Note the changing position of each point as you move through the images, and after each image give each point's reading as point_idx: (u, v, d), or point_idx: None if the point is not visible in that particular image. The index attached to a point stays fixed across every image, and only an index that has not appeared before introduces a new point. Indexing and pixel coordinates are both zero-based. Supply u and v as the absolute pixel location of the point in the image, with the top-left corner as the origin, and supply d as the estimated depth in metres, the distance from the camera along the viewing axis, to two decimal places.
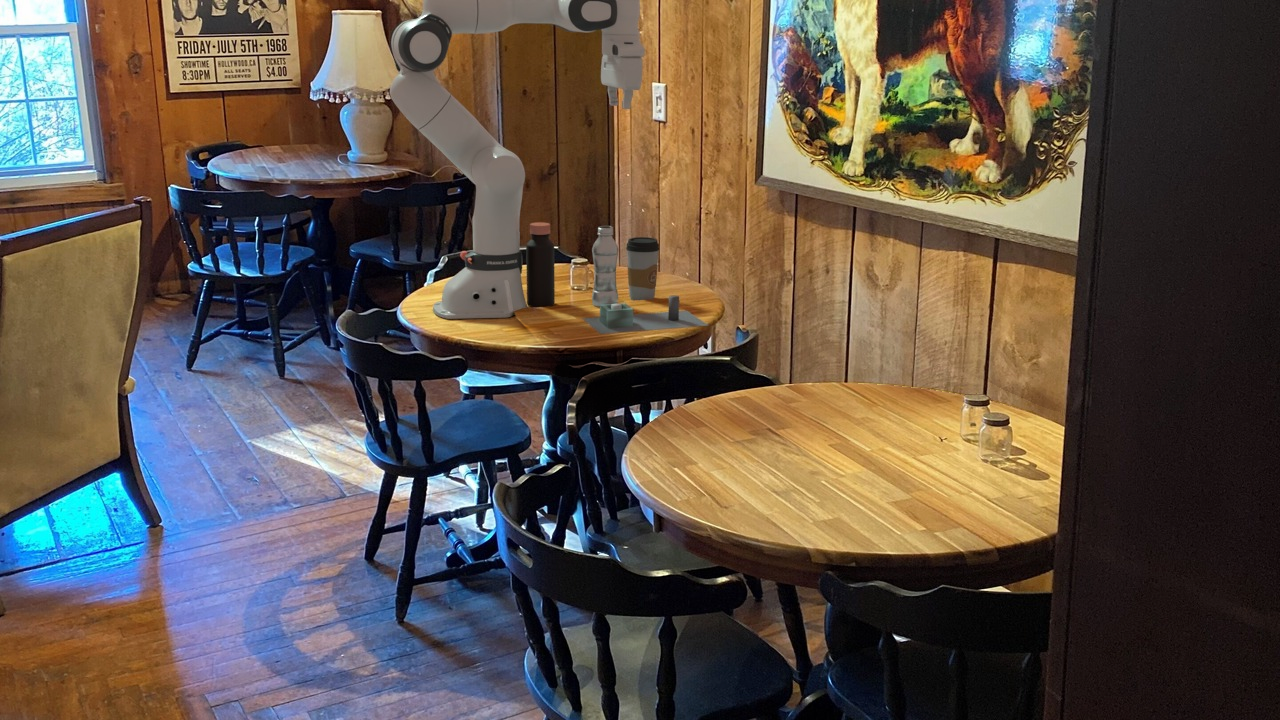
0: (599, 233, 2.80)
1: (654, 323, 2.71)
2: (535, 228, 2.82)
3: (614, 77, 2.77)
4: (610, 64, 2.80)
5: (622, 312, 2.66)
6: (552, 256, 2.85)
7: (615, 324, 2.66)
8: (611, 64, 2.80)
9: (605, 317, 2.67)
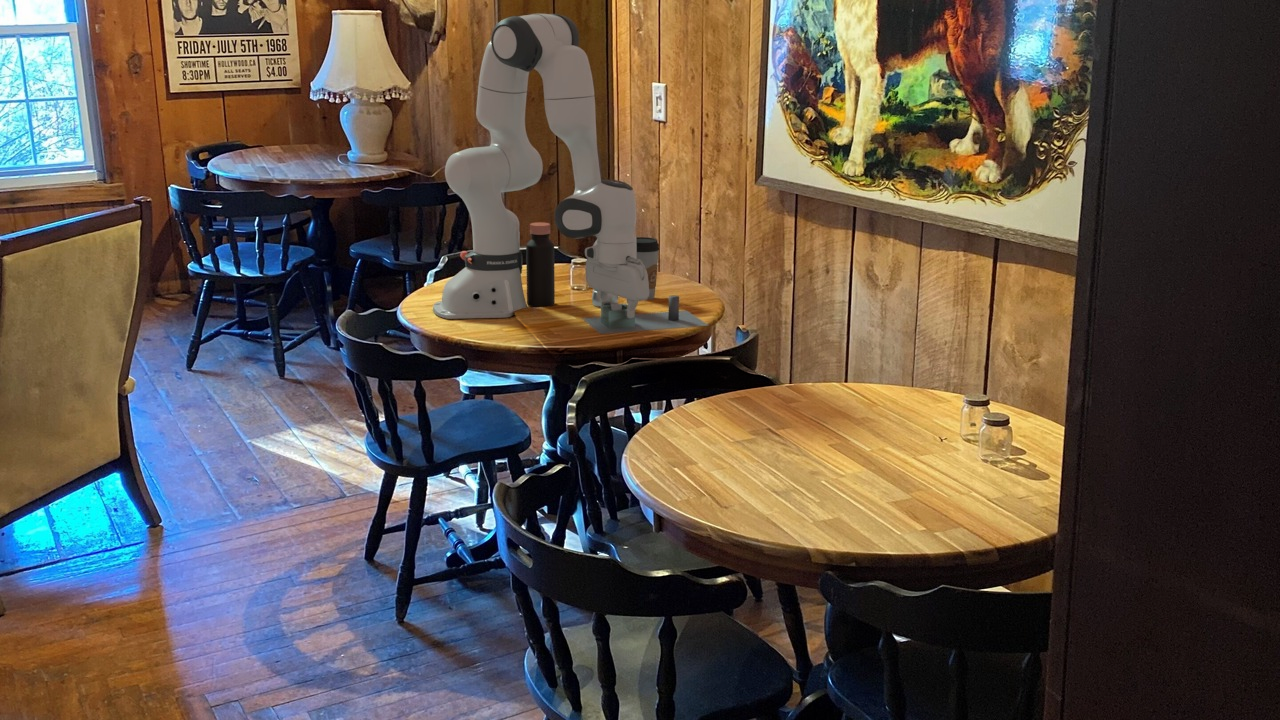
0: None
1: (654, 323, 2.71)
2: (535, 228, 2.82)
3: None
4: None
5: None
6: (552, 256, 2.85)
7: (617, 325, 2.66)
8: None
9: (607, 318, 2.66)
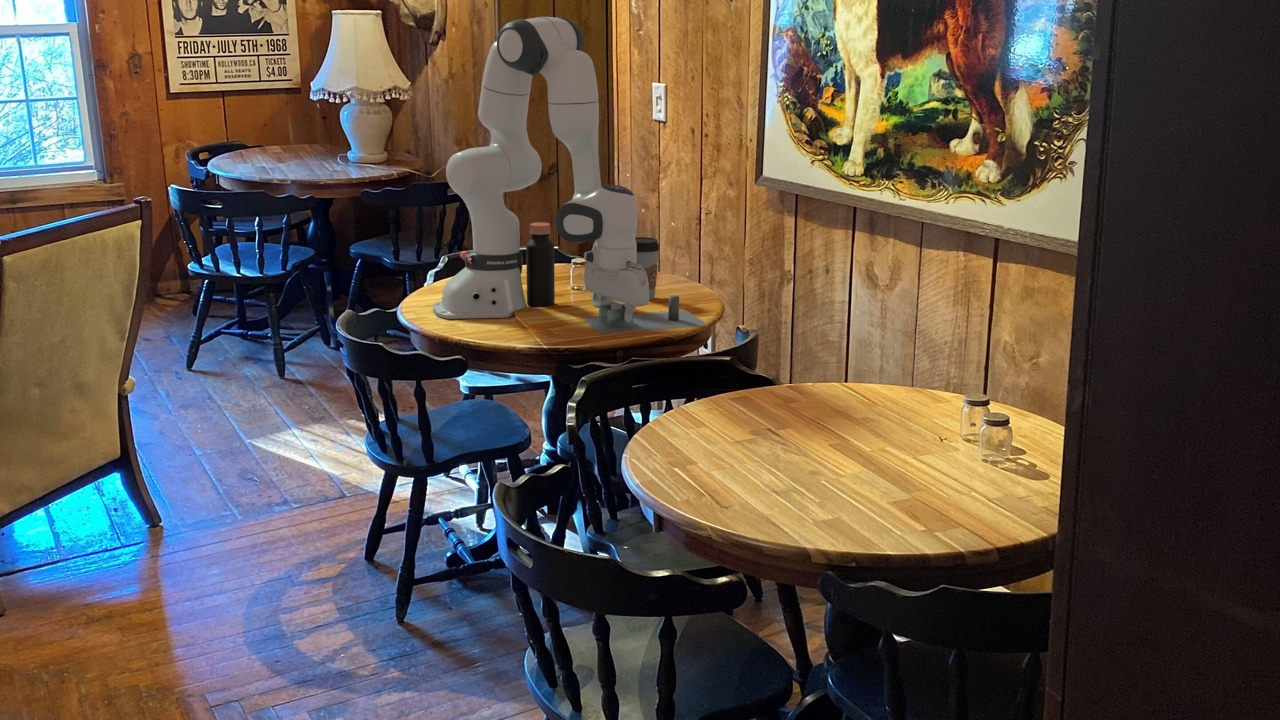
0: None
1: (654, 323, 2.71)
2: (535, 228, 2.82)
3: None
4: None
5: (622, 312, 2.66)
6: (552, 256, 2.85)
7: (616, 324, 2.66)
8: None
9: (605, 317, 2.67)
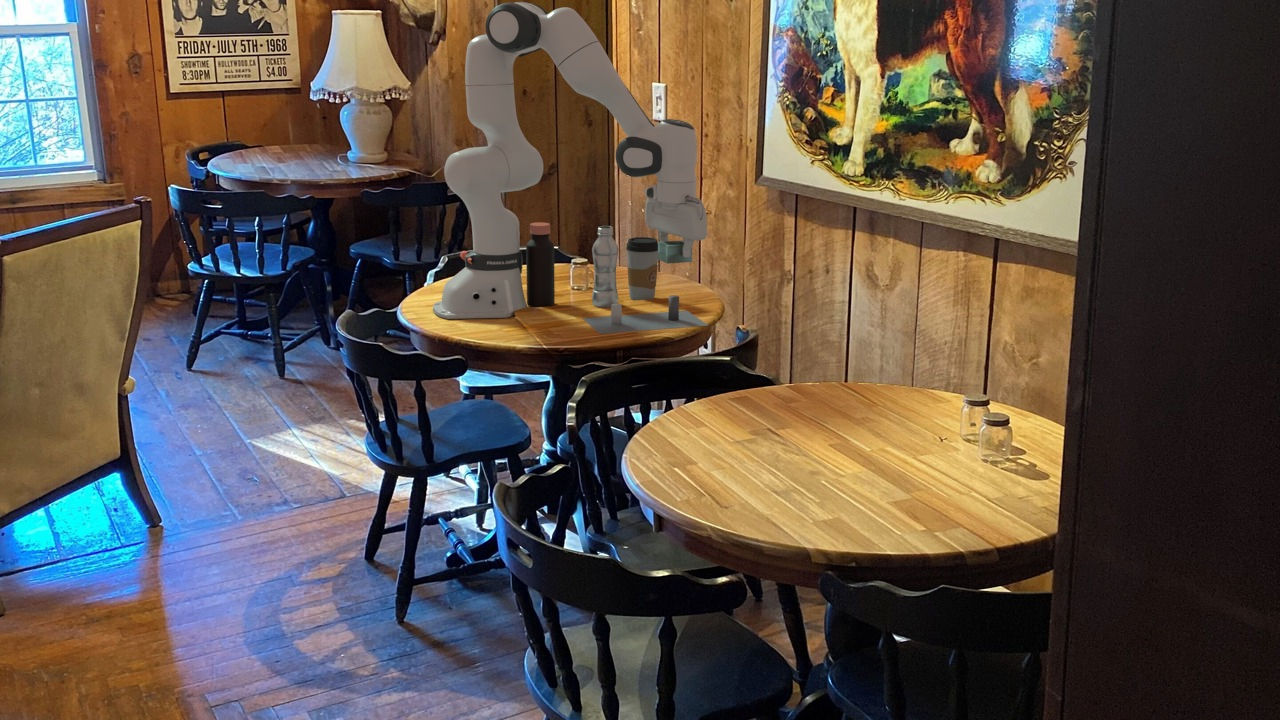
0: (599, 233, 2.80)
1: (654, 323, 2.71)
2: (535, 228, 2.82)
3: None
4: None
5: (681, 247, 2.66)
6: (552, 256, 2.85)
7: (674, 260, 2.66)
8: None
9: (664, 253, 2.67)
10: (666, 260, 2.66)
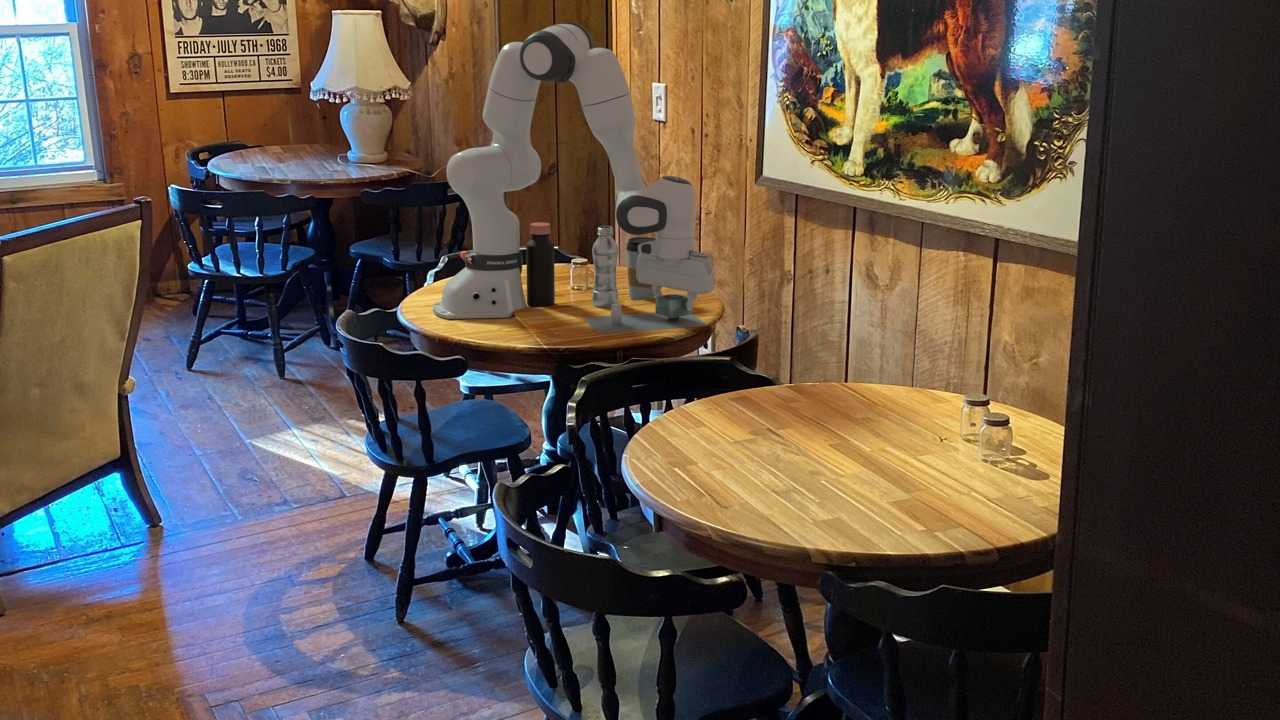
0: (599, 233, 2.80)
1: (654, 323, 2.71)
2: (535, 228, 2.82)
3: None
4: None
5: (683, 301, 2.70)
6: (552, 256, 2.85)
7: (678, 314, 2.70)
8: None
9: (666, 307, 2.70)
10: (670, 315, 2.69)
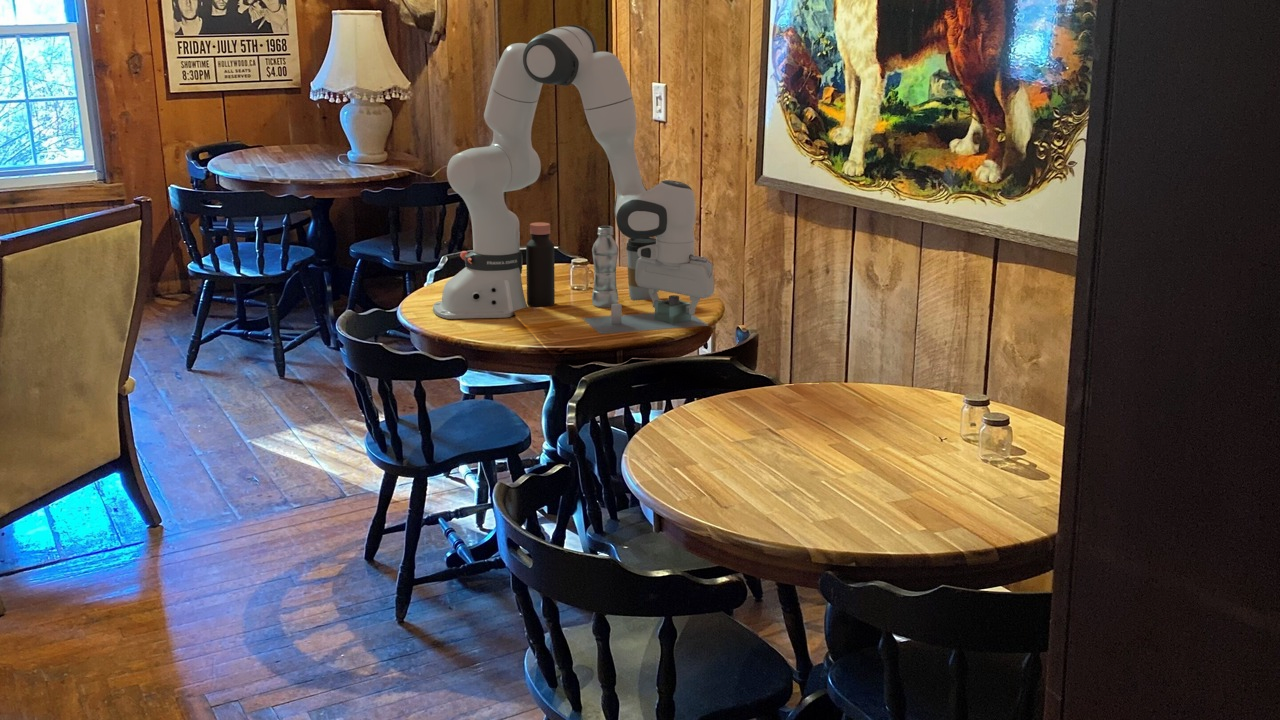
0: (599, 233, 2.80)
1: (654, 323, 2.71)
2: (535, 228, 2.82)
3: None
4: None
5: (683, 307, 2.71)
6: (552, 256, 2.85)
7: (678, 320, 2.71)
8: None
9: (666, 313, 2.71)
10: (670, 321, 2.70)
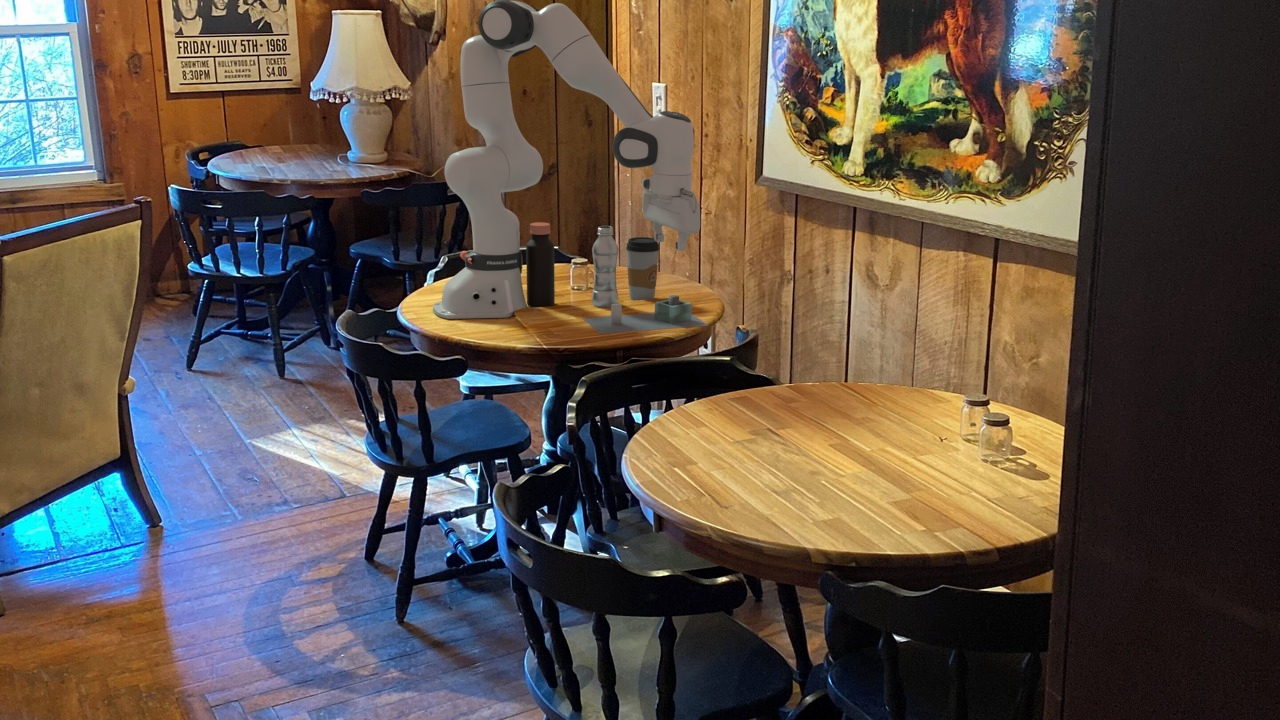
0: (599, 233, 2.80)
1: (654, 323, 2.71)
2: (535, 228, 2.82)
3: None
4: None
5: (683, 307, 2.71)
6: (552, 256, 2.85)
7: (678, 320, 2.71)
8: None
9: (666, 313, 2.71)
10: (670, 321, 2.70)
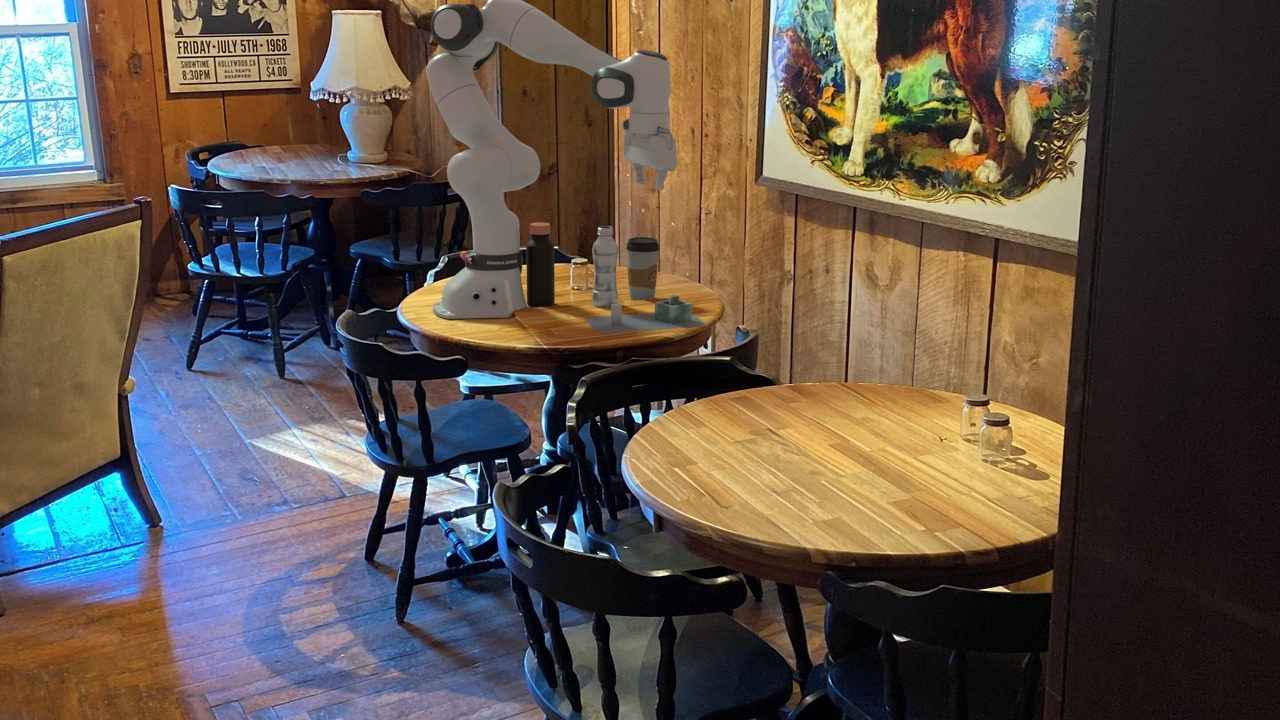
0: (599, 233, 2.80)
1: (654, 323, 2.71)
2: (535, 228, 2.82)
3: None
4: None
5: (683, 307, 2.71)
6: (552, 256, 2.85)
7: (678, 320, 2.71)
8: None
9: (666, 313, 2.71)
10: (670, 321, 2.70)
